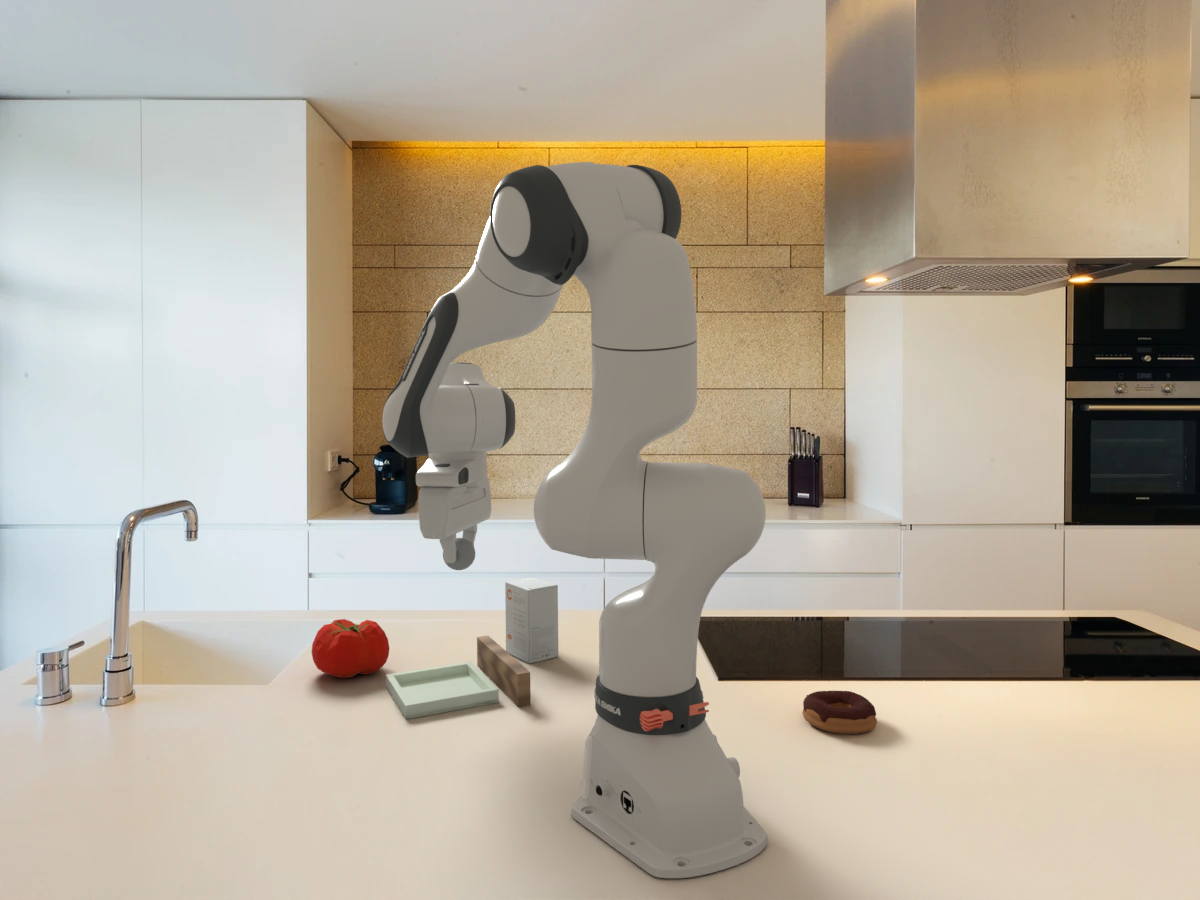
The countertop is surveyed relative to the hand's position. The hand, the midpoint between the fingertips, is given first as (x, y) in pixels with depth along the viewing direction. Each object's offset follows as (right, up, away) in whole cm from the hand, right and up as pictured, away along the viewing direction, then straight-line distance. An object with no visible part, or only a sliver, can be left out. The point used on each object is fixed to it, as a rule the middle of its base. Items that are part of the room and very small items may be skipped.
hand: (459, 557), depth 125 cm
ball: (0, +1, 0) cm, 1 cm away
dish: (-3, -21, 0) cm, 21 cm away
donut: (+56, -22, -11) cm, 61 cm away
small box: (+10, -20, +18) cm, 29 cm away
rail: (+6, -21, +4) cm, 22 cm away
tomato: (-20, -21, +9) cm, 30 cm away
